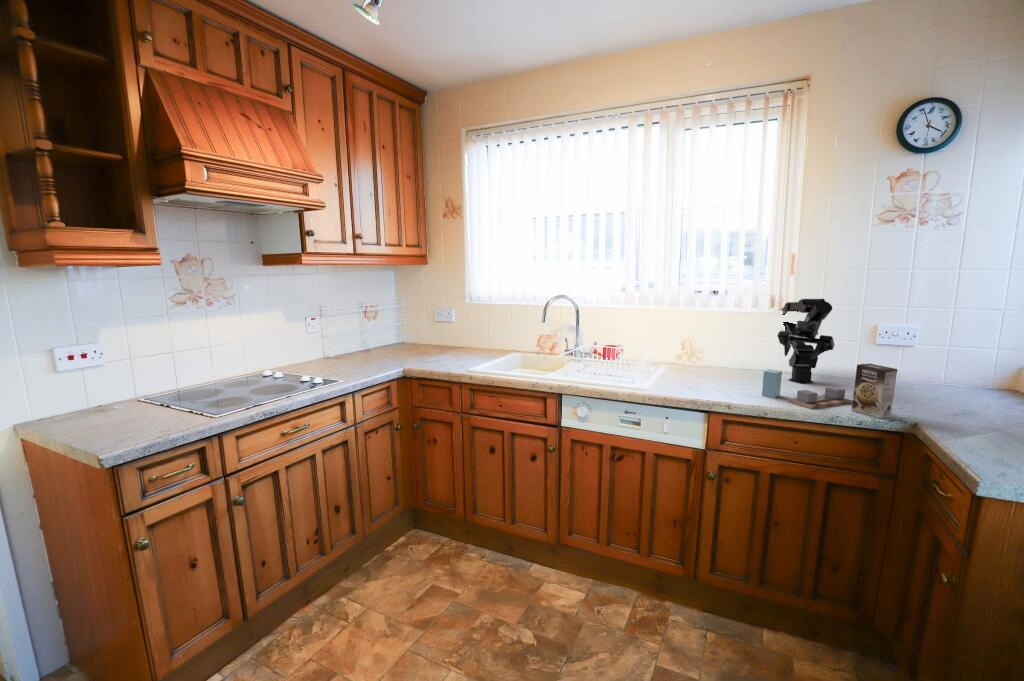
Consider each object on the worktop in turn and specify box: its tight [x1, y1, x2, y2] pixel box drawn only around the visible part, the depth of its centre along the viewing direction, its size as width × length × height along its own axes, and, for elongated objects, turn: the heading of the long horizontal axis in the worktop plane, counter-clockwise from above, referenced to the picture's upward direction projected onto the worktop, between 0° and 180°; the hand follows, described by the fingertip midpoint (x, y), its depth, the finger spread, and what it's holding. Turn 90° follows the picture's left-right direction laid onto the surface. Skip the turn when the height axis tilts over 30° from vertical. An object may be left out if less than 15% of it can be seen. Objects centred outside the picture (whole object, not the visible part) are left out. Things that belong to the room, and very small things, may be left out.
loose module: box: [761, 368, 783, 399], centre depth 181 cm, size 4×5×10 cm
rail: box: [797, 396, 845, 404], centre depth 172 cm, size 18×4×1 cm, turn 109°
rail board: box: [787, 394, 853, 410], centre depth 172 cm, size 20×9×1 cm, turn 109°
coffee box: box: [851, 363, 898, 419], centre depth 158 cm, size 9×6×16 cm
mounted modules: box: [796, 386, 846, 402], centre depth 172 cm, size 18×4×3 cm, turn 109°
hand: (798, 357), depth 185 cm, fingers open, 9 cm apart
